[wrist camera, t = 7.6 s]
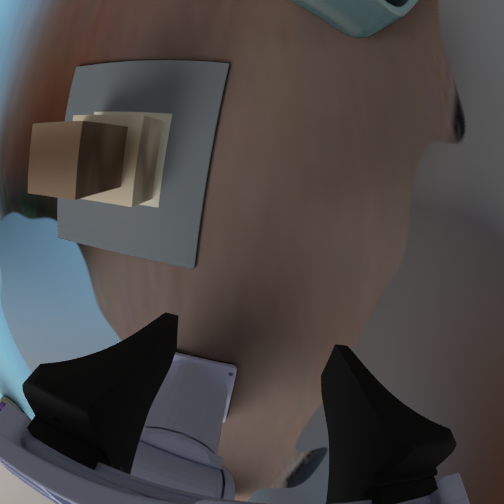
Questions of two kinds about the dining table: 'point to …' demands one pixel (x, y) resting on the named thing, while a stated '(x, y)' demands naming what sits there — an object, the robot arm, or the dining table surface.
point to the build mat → (168, 161)
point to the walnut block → (75, 158)
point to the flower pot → (358, 14)
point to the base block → (132, 158)
